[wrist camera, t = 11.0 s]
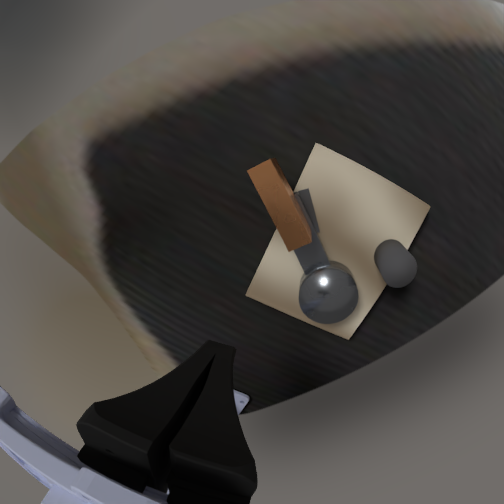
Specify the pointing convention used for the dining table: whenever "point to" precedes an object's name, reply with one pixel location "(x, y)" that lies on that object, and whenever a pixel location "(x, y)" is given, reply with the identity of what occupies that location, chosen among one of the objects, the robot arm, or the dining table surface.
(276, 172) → the crank
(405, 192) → the board
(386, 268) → the post
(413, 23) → the dining table surface
